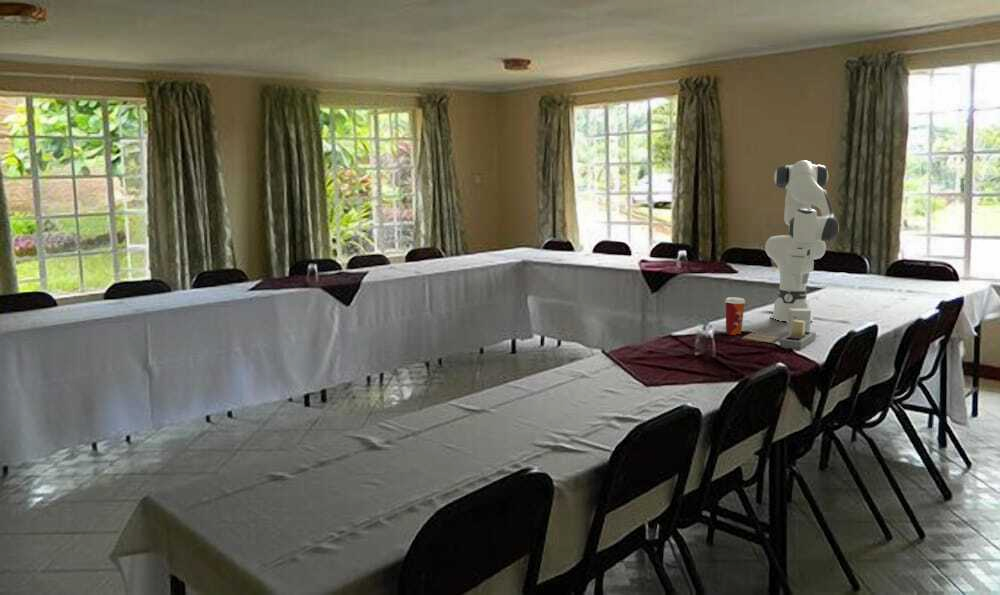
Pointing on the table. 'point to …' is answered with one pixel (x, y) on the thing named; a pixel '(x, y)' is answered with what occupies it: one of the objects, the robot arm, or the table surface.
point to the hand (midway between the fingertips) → (801, 285)
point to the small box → (798, 318)
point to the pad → (760, 338)
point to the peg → (798, 328)
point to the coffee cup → (734, 315)
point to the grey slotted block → (797, 340)
